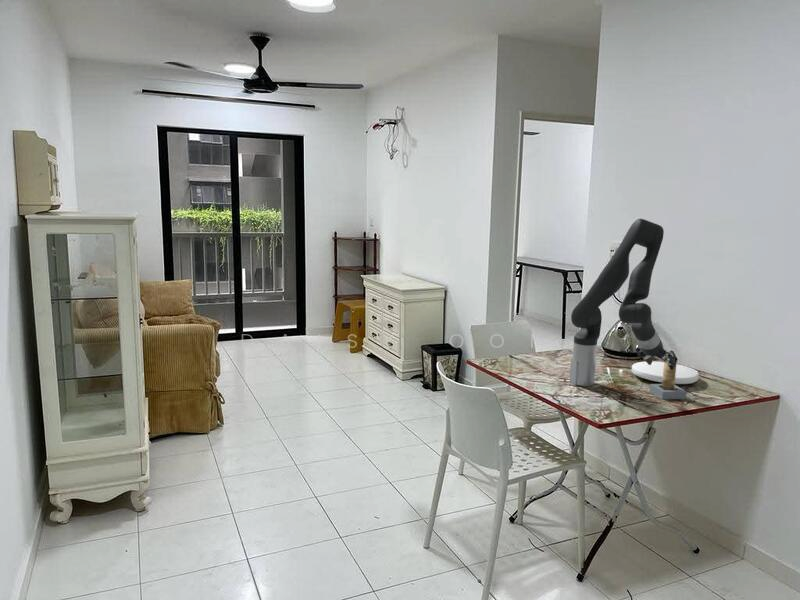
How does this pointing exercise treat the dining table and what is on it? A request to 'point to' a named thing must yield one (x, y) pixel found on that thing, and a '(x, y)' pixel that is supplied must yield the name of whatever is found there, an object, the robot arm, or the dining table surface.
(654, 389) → the socket block
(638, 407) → the dining table surface
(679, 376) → the plate
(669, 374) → the dowel
